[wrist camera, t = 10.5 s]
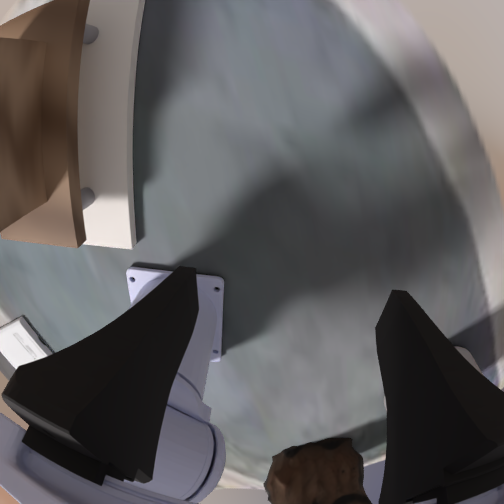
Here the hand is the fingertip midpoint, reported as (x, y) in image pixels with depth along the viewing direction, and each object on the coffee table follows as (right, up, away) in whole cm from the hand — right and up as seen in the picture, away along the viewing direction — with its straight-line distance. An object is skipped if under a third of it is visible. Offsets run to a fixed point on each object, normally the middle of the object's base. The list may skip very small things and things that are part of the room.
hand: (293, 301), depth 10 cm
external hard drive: (-33, -11, +20) cm, 40 cm away
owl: (+8, -30, +28) cm, 42 cm away
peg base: (-15, +12, +6) cm, 20 cm away
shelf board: (-16, +10, +3) cm, 19 cm away
